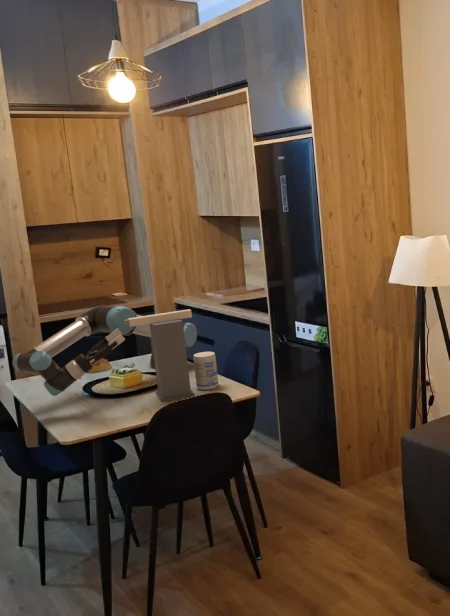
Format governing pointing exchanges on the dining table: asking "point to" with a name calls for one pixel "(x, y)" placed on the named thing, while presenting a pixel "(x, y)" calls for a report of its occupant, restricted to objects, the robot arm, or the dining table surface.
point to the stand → (170, 360)
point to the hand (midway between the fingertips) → (121, 333)
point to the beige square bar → (158, 318)
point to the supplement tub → (205, 370)
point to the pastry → (100, 366)
